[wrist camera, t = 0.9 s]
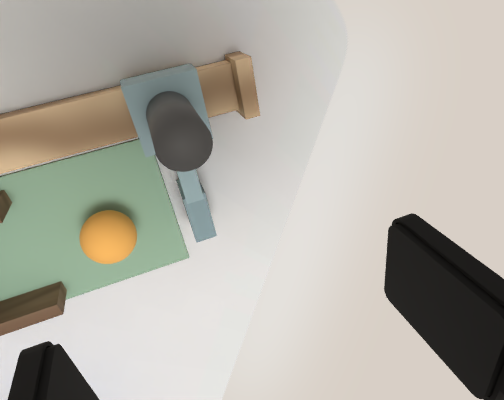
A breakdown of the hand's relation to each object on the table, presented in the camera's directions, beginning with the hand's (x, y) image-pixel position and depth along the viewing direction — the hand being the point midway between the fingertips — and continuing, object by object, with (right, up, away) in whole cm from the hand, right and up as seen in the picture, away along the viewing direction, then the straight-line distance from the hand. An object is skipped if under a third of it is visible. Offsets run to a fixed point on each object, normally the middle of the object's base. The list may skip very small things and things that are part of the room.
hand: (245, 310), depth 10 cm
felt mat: (-17, 0, +21) cm, 27 cm away
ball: (-12, +1, +21) cm, 25 cm away
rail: (-11, +9, +17) cm, 23 cm away
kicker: (-6, +7, +20) cm, 22 cm away
